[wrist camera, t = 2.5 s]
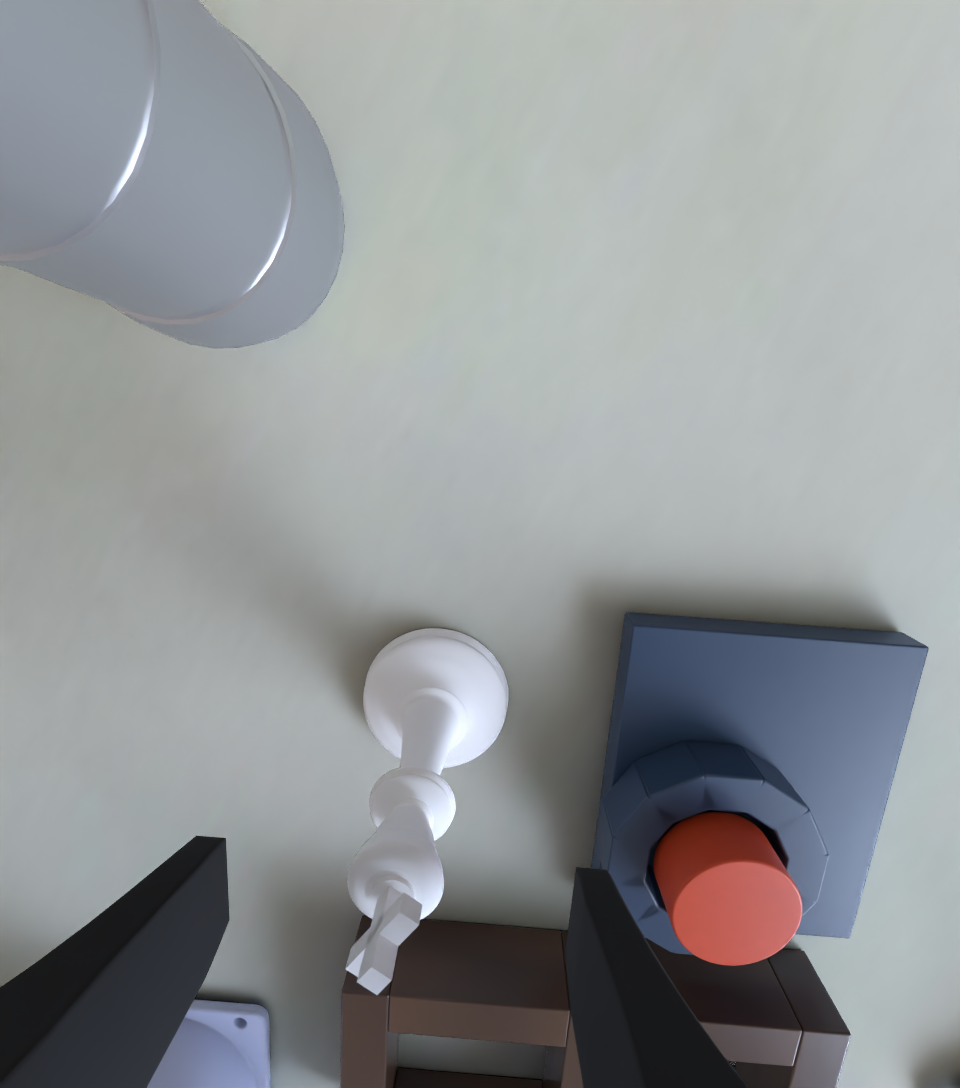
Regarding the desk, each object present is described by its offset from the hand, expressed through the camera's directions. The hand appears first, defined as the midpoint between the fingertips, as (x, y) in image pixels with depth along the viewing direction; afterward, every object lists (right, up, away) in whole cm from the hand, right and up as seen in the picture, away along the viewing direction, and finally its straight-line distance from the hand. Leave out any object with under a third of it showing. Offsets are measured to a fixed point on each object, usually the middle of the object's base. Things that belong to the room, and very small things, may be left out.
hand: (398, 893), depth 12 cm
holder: (+5, -12, +11) cm, 17 cm away
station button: (+9, -3, +6) cm, 11 cm away
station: (+11, -1, +8) cm, 13 cm away
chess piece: (0, +2, +8) cm, 8 cm away
